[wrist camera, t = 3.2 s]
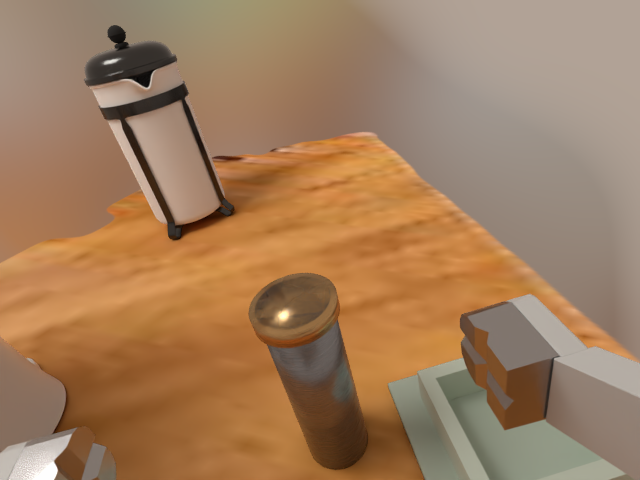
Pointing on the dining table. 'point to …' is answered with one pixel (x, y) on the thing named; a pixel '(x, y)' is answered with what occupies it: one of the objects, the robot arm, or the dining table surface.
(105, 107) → the coffee press
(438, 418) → the green square tray
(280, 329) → the pin
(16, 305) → the dining table surface
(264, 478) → the dining table surface
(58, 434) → the robot arm
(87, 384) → the dining table surface
